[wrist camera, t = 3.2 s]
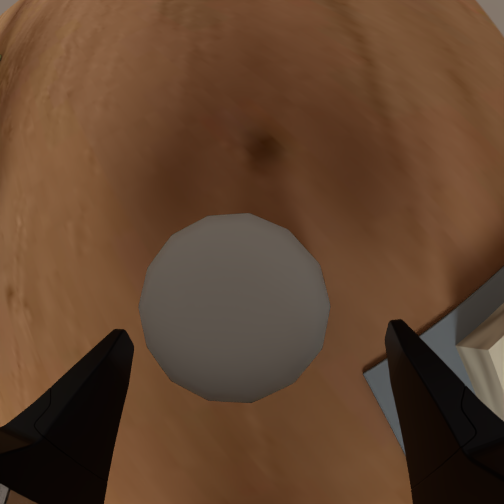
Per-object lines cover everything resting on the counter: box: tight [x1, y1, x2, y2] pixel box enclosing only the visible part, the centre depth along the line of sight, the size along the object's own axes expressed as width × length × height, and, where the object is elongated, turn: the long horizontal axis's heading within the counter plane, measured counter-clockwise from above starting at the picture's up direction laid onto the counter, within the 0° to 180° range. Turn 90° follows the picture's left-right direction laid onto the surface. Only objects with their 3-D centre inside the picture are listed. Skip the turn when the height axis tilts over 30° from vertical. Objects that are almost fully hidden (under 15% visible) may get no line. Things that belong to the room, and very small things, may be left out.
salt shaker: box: [139, 213, 330, 403], centre depth 12 cm, size 6×6×13 cm
